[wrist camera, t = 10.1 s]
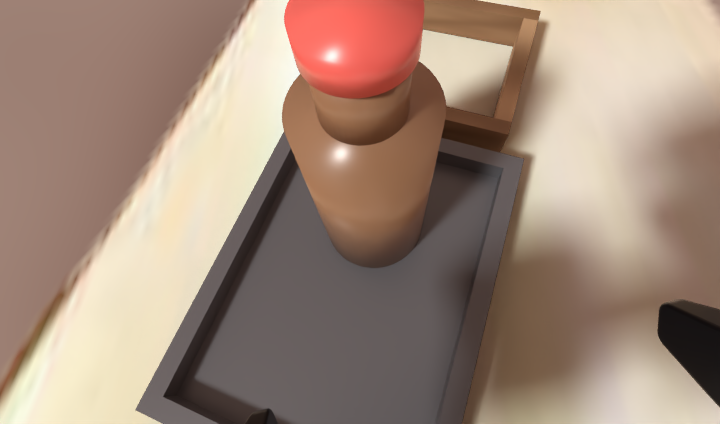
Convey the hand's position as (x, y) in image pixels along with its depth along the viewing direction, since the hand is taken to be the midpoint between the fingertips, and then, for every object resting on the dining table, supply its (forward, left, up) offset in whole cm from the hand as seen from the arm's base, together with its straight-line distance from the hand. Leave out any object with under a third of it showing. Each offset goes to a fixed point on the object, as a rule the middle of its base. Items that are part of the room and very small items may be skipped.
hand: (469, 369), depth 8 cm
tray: (+3, +5, -8) cm, 10 cm away
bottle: (+6, +5, -8) cm, 10 cm away
